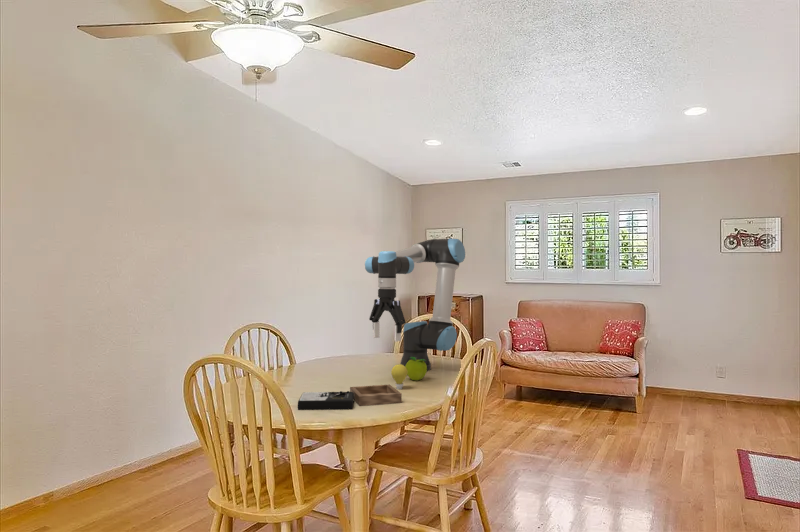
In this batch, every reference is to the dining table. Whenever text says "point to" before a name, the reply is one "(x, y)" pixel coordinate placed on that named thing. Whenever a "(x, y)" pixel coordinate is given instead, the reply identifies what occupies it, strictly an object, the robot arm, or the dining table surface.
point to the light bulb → (399, 375)
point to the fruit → (416, 368)
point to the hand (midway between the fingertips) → (386, 339)
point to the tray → (376, 395)
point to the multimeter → (326, 401)
